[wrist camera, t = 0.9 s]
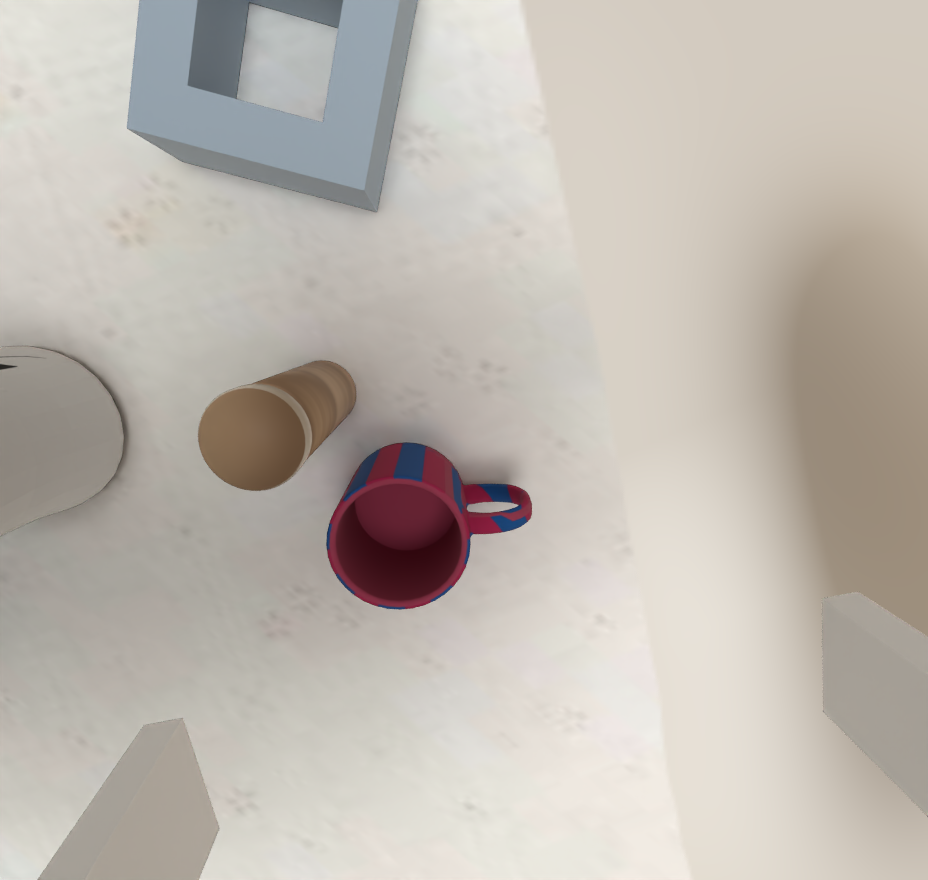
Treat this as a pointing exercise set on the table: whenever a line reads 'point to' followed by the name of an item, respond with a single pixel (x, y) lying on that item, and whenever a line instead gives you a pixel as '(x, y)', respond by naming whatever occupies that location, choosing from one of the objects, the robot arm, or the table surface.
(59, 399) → the mug
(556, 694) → the table surface
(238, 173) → the socket block
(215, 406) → the dowel
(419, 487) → the cup
